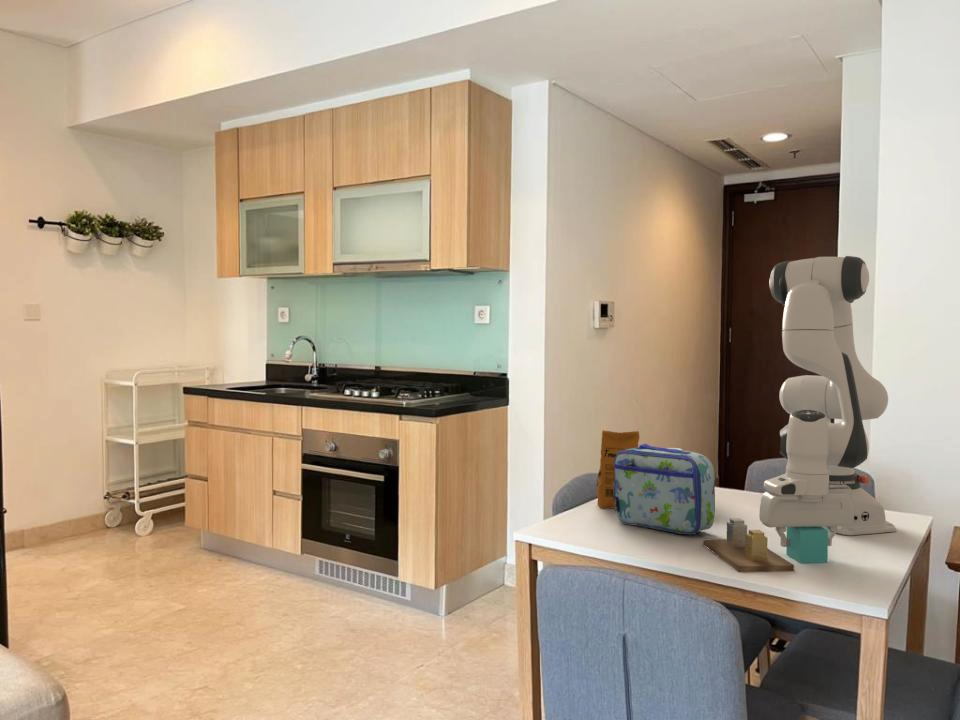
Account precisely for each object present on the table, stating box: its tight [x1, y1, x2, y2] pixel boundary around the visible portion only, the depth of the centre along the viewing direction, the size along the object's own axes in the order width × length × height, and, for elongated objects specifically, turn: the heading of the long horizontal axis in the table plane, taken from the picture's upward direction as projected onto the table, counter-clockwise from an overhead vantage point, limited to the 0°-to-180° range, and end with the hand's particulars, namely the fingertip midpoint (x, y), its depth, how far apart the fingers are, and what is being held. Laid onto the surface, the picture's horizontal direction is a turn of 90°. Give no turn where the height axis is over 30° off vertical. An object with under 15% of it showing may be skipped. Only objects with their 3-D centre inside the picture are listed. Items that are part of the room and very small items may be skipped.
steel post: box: [726, 517, 748, 548], centre depth 171 cm, size 3×3×6 cm
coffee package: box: [596, 429, 640, 509], centre depth 214 cm, size 10×12×22 cm
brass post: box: [745, 529, 768, 561], centre depth 161 cm, size 3×3×6 cm
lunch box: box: [613, 443, 716, 536], centre depth 191 cm, size 26×11×21 cm, turn 43°
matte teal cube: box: [785, 527, 829, 564], centre depth 165 cm, size 6×6×7 cm
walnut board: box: [702, 538, 795, 573], centre depth 166 cm, size 12×20×1 cm, turn 4°
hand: (805, 545), depth 165 cm, fingers open, 8 cm apart
